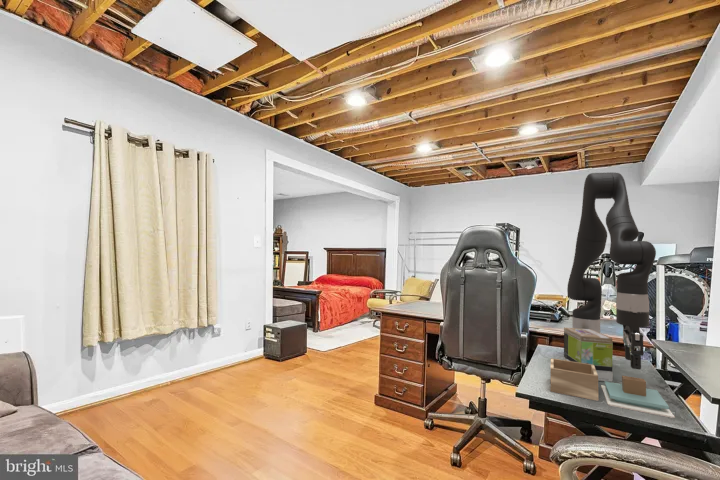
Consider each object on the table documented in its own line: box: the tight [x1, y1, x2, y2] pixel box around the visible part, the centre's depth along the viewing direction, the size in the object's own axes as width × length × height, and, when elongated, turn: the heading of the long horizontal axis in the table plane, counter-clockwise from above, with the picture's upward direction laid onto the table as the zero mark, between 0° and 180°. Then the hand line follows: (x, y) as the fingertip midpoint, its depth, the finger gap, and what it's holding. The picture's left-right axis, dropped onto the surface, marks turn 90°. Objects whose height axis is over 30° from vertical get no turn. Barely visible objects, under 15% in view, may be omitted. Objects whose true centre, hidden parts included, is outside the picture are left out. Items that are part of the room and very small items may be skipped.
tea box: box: [563, 327, 614, 383], centre depth 119 cm, size 15×10×15 cm
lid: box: [604, 375, 670, 410], centre depth 97 cm, size 13×13×6 cm
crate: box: [550, 358, 599, 401], centre depth 104 cm, size 12×12×7 cm
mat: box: [600, 384, 676, 419], centre depth 97 cm, size 16×14×1 cm
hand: (632, 364), depth 97 cm, fingers open, 8 cm apart
